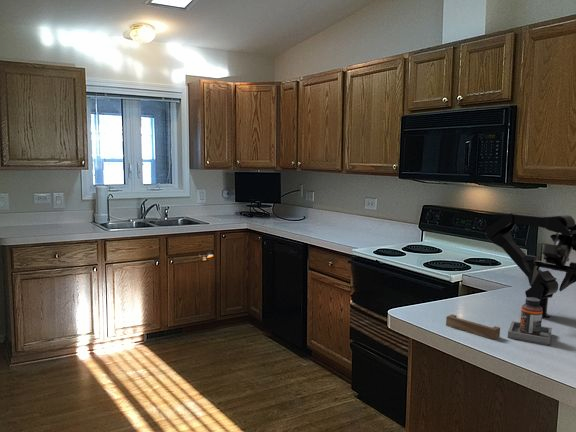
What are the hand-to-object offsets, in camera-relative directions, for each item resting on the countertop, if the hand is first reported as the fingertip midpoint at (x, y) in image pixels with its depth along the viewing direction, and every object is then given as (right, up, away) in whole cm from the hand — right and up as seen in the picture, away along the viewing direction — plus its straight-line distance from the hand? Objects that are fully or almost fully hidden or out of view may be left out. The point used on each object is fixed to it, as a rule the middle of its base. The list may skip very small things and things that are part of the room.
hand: (544, 287), depth 163 cm
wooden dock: (-25, -13, -4) cm, 29 cm away
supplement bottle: (-8, -14, -6) cm, 17 cm away
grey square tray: (-8, -14, -6) cm, 18 cm away
